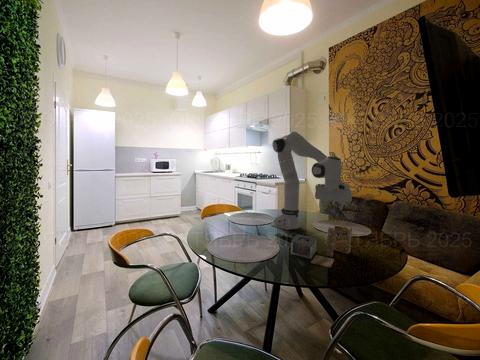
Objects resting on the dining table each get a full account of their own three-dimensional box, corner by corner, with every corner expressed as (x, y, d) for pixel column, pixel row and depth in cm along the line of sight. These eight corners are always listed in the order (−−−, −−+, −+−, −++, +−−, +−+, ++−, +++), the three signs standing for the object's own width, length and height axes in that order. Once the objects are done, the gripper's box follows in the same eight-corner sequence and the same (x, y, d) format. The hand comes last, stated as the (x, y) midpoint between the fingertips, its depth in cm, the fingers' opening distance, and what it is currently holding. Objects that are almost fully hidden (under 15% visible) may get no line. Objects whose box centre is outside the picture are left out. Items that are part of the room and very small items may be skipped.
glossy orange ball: (299, 247, 135) (299, 242, 135) (301, 244, 139) (301, 239, 139) (306, 248, 133) (306, 243, 133) (308, 246, 137) (308, 241, 136)
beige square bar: (326, 255, 132) (328, 228, 130) (327, 253, 135) (329, 227, 133) (332, 257, 131) (333, 229, 129) (333, 255, 133) (334, 228, 131)
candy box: (332, 250, 140) (334, 225, 138) (335, 247, 143) (336, 224, 141) (348, 254, 134) (350, 228, 132) (350, 252, 138) (352, 227, 136)
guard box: (290, 253, 134) (291, 240, 133) (296, 246, 145) (297, 234, 144) (311, 258, 128) (312, 245, 127) (316, 250, 138) (317, 238, 137)
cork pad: (311, 262, 123) (311, 261, 123) (315, 255, 132) (315, 254, 132) (330, 267, 118) (330, 266, 118) (334, 260, 127) (334, 259, 127)
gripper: (313, 184, 138) (313, 206, 139) (349, 186, 124) (349, 211, 126) (317, 183, 142) (317, 205, 144) (353, 185, 129) (352, 209, 131)
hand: (332, 208), depth 135 cm, fingers open, 8 cm apart
